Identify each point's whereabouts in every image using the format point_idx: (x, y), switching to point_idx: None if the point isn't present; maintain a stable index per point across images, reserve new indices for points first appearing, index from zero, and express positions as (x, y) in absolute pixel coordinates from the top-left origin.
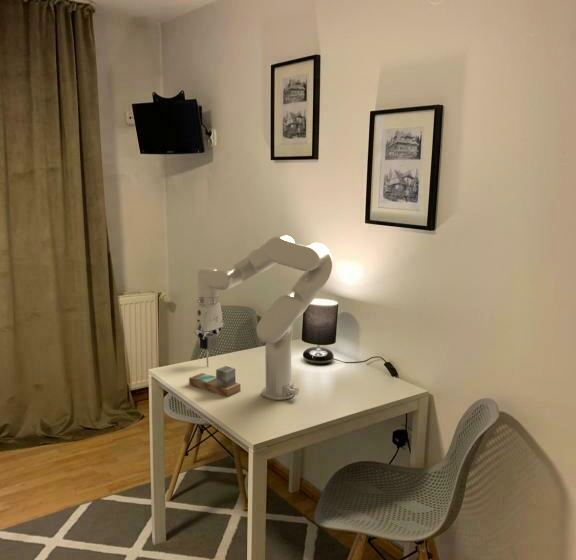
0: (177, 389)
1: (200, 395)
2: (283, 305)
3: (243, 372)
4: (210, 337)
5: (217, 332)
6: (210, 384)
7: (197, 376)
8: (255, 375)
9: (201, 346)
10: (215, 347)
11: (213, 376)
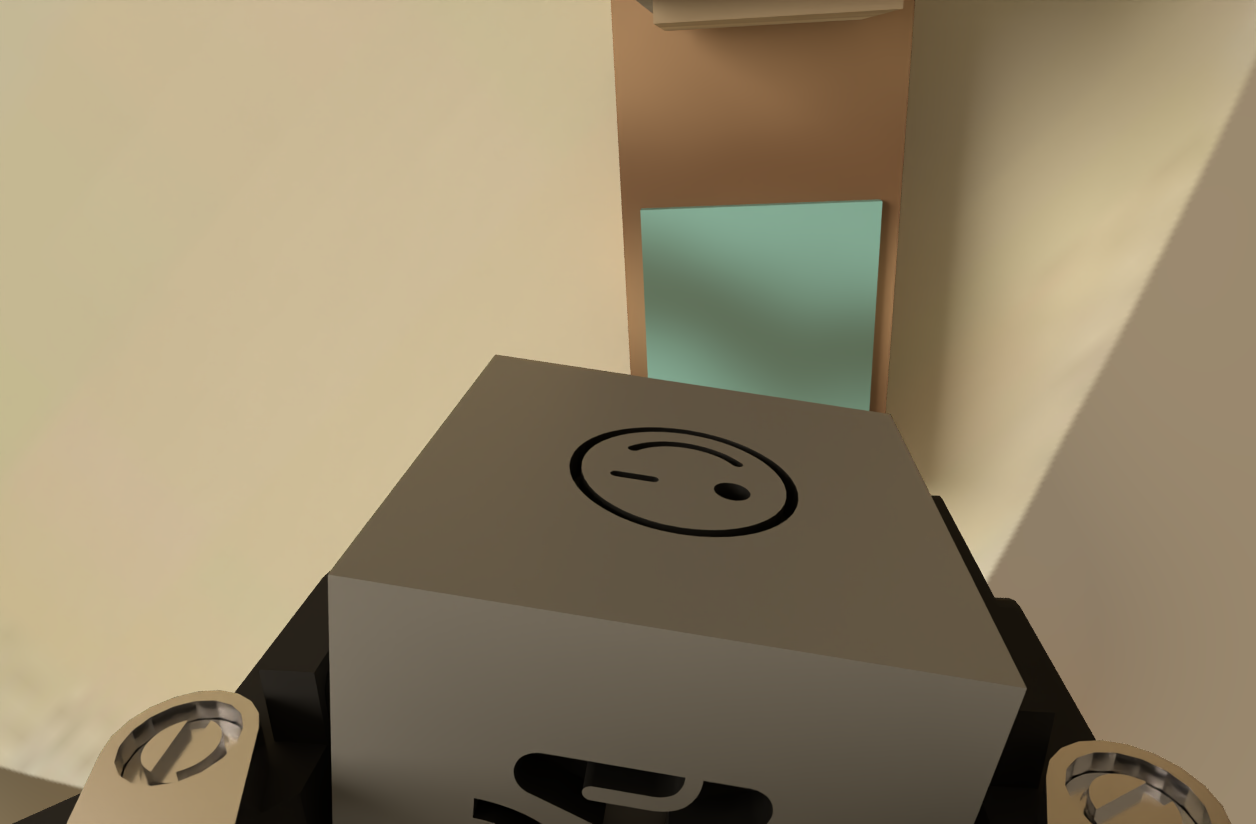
0: (1035, 486)
1: (1054, 118)
2: None
3: (125, 253)
4: (863, 645)
5: (210, 790)
6: (907, 99)
7: None
8: (59, 40)
9: None
10: (619, 386)
11: (656, 284)
